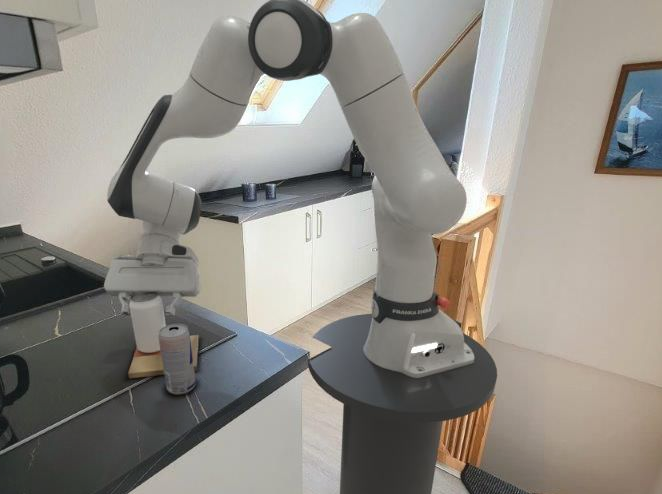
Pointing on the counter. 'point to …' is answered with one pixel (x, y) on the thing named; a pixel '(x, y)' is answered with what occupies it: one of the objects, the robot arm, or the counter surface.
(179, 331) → the energy drink
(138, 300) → the can
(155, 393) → the counter surface
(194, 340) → the square wooden board
